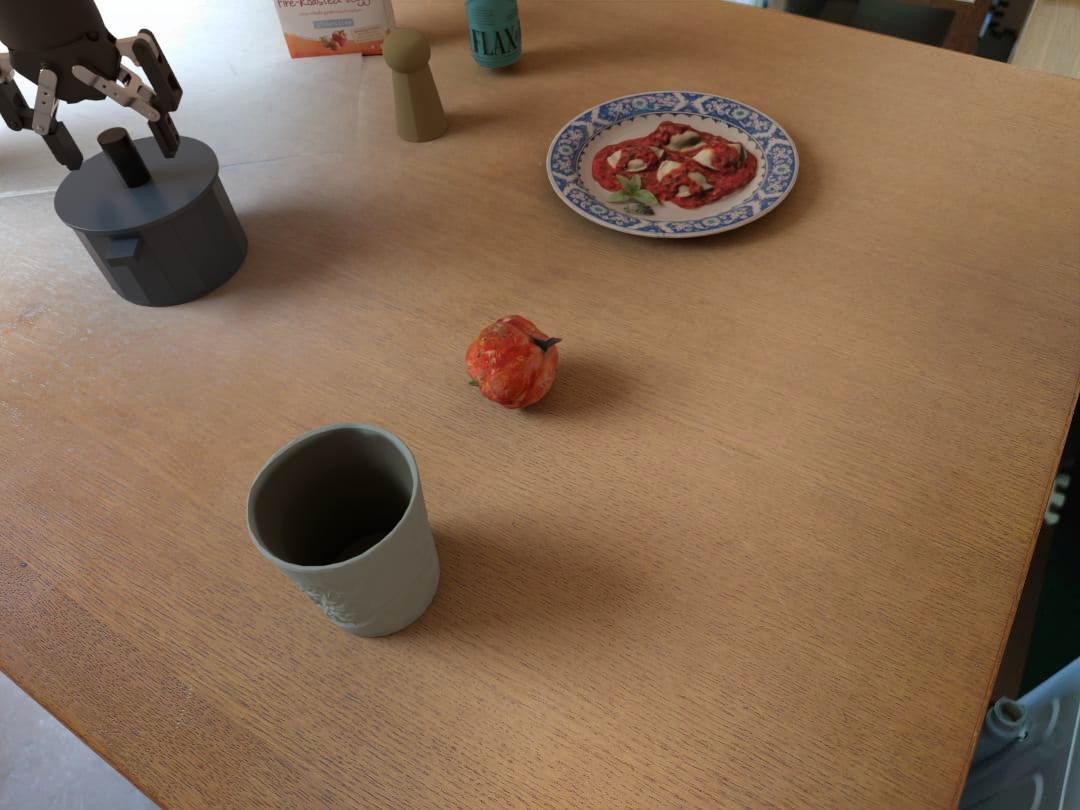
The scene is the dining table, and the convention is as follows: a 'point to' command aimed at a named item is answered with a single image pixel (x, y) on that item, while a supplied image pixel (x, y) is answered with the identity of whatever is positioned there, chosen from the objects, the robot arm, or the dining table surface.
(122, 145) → the lid
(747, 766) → the dining table surface
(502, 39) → the beverage bottle
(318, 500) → the grey green cup
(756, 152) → the ceramic plate
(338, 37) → the cracker box
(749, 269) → the dining table surface
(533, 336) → the pomegranate
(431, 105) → the olive peg figure
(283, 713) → the dining table surface
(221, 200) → the pot
